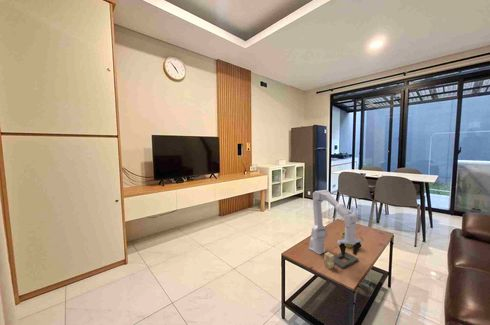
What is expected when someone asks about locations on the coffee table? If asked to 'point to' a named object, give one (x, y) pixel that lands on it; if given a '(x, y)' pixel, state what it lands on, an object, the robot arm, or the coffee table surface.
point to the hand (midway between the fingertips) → (348, 254)
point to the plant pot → (346, 244)
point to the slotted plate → (341, 263)
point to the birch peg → (329, 260)
